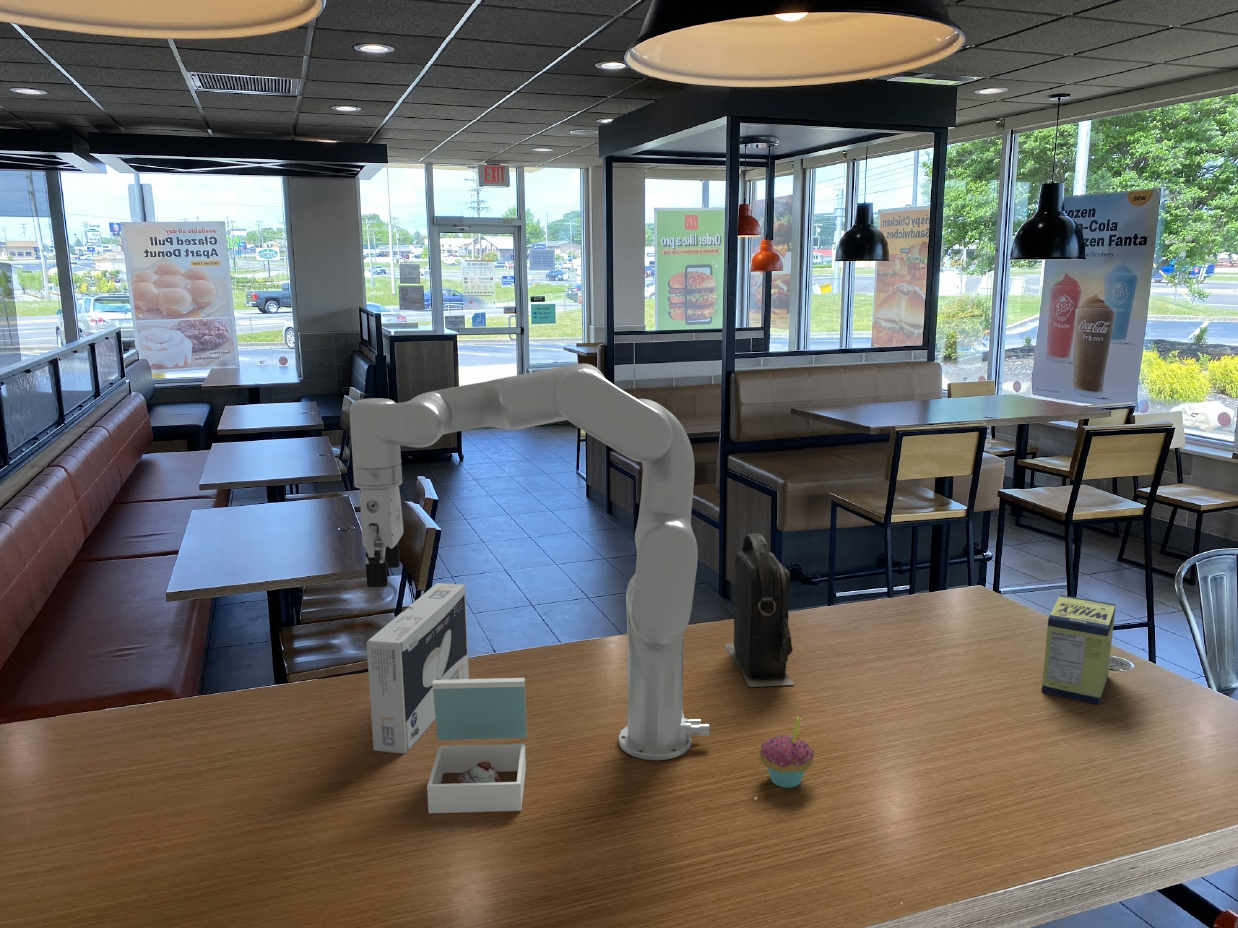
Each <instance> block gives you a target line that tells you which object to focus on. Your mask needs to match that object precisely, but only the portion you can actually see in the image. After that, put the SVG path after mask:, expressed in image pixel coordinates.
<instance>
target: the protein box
mask: <svg viewBox="0 0 1238 928" xmlns="http://www.w3.org/2000/svg"><path fill="white" fill-rule="evenodd" d="M1116 606H1117V604H1116V603H1109V602H1105V601H1097V600H1092V599H1087V598H1082V597H1080V598H1079V597H1075V596H1069V595H1063V594H1059V596H1058V598H1057V600H1056V602H1055V604H1054V606H1053V608H1052V610H1051V612H1050V614H1049V616H1048V619H1047V630H1046V641H1045V651H1044V652H1045V653H1044V662H1043V672H1042V684H1041V693H1043V694H1044V693H1045V694H1048V695H1054V696H1058V697H1061V698H1068V699H1072V700H1075V701H1076V700H1077V701H1080V702H1085V703H1090V704H1091V703H1092V704H1094V705H1098V706H1099V705H1100V704H1101V702H1102V698H1103V696H1104V692H1105V689H1106V684H1107V681H1108V678H1109V670H1110V662H1111V660H1110V659H1111V652H1112V642H1113V635H1114V634H1113V633H1114V632H1113V631H1114V624H1115V615H1116Z"/></svg>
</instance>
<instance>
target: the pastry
mask: <svg viewBox="0 0 1238 928" xmlns="http://www.w3.org/2000/svg"><path fill="white" fill-rule="evenodd" d="M494 782H503V781H502V779H501V778H500V776H499V772H498V771H495V768H494V767H492V766H491V764H490V762H489V761H488V762H485V761H484V762H481V763H478V764H477V767H475V768H473V769H470V770H467V771H465V772H464V773H461V774H460V775H459V776H458V778H457V779H456V781H455V782H454V784H457V783H494Z"/></svg>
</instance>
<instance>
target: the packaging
mask: <svg viewBox="0 0 1238 928" xmlns="http://www.w3.org/2000/svg"><path fill="white" fill-rule="evenodd" d="M466 599H467V598H466V585H465V584H460V583H459V584H458V583H442V582H436V583H435V584H434V585H433V586H431V587H430V588H429V589H428V590H427V591H426V592H424V593H423V594H422V595H421V596H420V597H419V598H418V599H416V600H415V601H414V602H412V603H411V604H410V605H409V606H408V607H407V608H406V609H405V610H404V611H402V612H400V613H399V614H398V615H397V616H395V618H393V619H392V620H391V621H390V622H388V623H387V624H386V625H385V626H384V627H383V628H381V629H380V630H379V631H378V632H377V633H375V634H374V635H372V637H370V638H369V639H368V640H367V641H366V654H367V655H366V656H367V668H368V670H367V671H368V681H369V684H368V685H369V699H370V719H371V732H372V733H371V734H372V744H373V745H372V747H373V751H374V752H375V751H377V752H387V753H396V754H404V755H405V754H407V752H409V751H410V750H411V748H412V747H413V746H414V745H415V743H416V742H418V740H419V739H420V738H421V737H422V735H423V734H424V733H425V731H426V730H427V729H428V728H429V727H430V726H431V724H433V722H434V721H436V717H435V706H434V694H433V686H432V683H433V680H451V679H470V672H469V670H470V669H469V648H468V645H469V644H468V624H467V622H468V621H467V604H466V603H467V600H466Z"/></svg>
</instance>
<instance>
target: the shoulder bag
mask: <svg viewBox="0 0 1238 928" xmlns="http://www.w3.org/2000/svg"><path fill="white" fill-rule="evenodd" d="M734 557H735V558H734V559H735V560H734V593H733V594H734V595H733V597H734V598H733V642H732V643H728V642H726V643H724V644H723V645H724V646H725V649H726V650H727V652H728V654H729V655H730V656H731V658H732V660H733V662H734V664H735V665H736V667H737V668H738V670H739V672H740V673H741V675H742V676H743V679H744V680H745V683H746V684H747V686H748V687H749V688H757V687H758V688H762V687H777V686H779V687H780V686H795V683H794V682H793V681H792V679H791V678H790V676H789V675H788V674H787V672H786V671H787V662H788V661H789V656H790V655H791V654H792V652H793V645H792V637H791V636H792V635H791V630H790V628H789V627H790V626H789V592H790V586H791V575H790V571H789V570H788V569H787V568H786V567H785V566H784V565H783V564H782V563H781V561H780V560H779V559H778V558H777V557H776V555H775V554H774V553H773V552H771V551H770V550H769V546H768V542H767V540H766V537H765V536H764V535H763V533H758V532H757V533H756V532H755V533H749V534H746V535H744V537H743V543H742V549H741V551H737V552H736V554H735V556H734Z"/></svg>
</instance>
